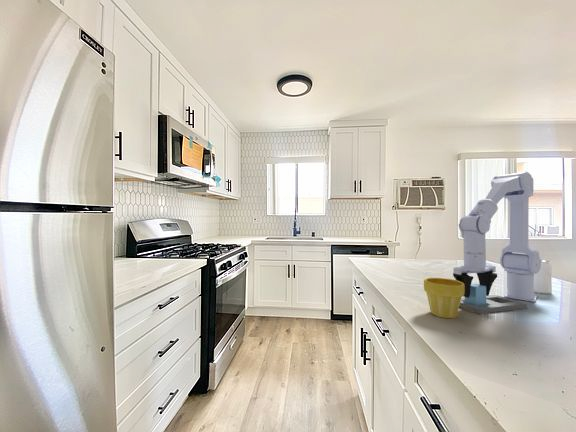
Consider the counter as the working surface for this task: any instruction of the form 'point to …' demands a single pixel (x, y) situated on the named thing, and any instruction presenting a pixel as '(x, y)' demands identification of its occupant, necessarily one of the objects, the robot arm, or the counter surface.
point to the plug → (477, 295)
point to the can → (543, 279)
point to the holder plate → (494, 305)
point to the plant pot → (444, 296)
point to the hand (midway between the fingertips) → (475, 295)
